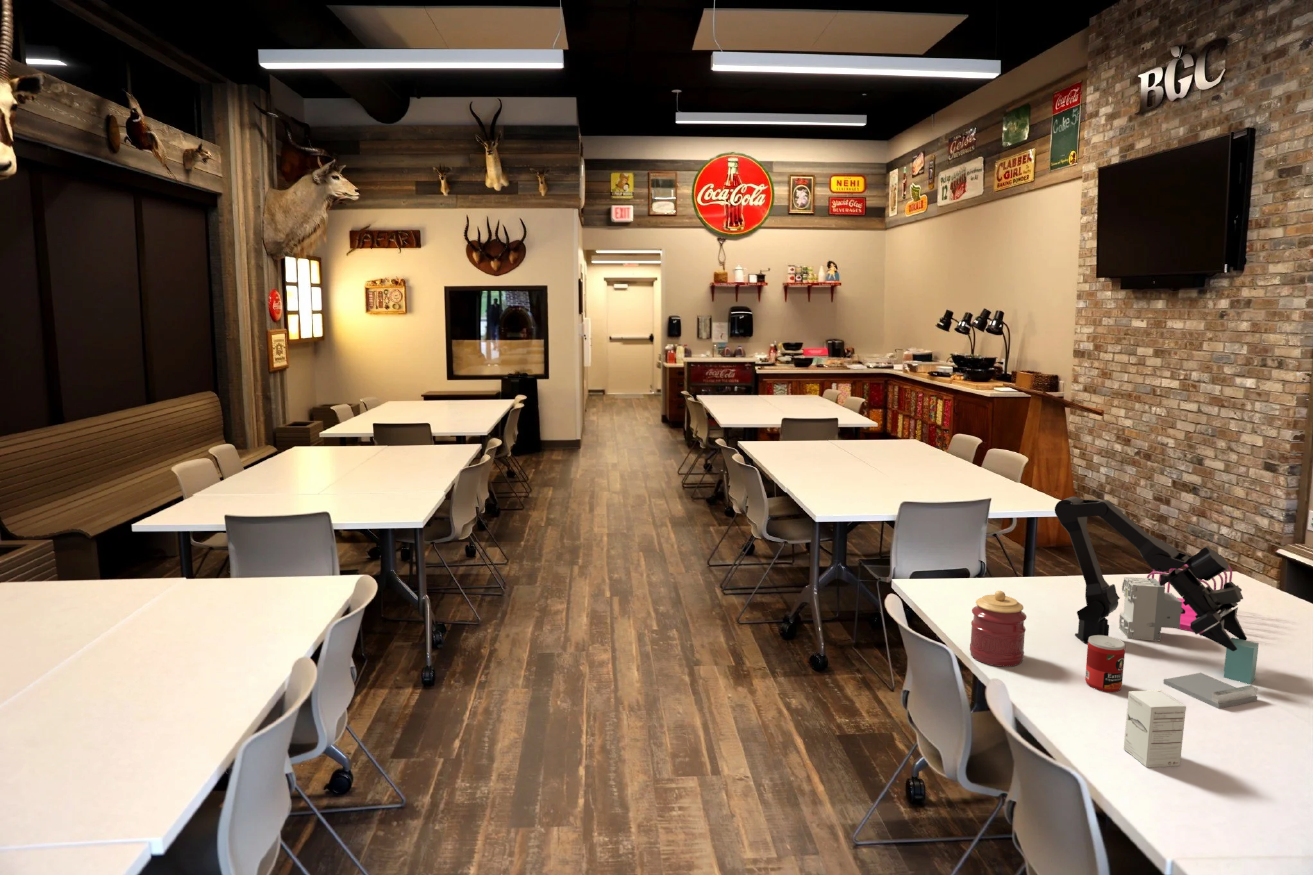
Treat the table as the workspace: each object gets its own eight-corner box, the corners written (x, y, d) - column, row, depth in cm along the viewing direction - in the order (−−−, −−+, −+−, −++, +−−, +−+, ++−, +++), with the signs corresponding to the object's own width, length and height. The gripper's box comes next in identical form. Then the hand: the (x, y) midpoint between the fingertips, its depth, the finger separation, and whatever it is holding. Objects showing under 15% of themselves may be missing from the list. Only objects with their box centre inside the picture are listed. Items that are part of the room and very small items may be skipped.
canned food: (1108, 695, 200) (1111, 649, 198) (1077, 682, 207) (1080, 638, 205) (1129, 688, 203) (1133, 643, 202) (1098, 676, 210) (1101, 632, 209)
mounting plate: (1163, 683, 206) (1164, 671, 206) (1200, 676, 210) (1201, 664, 210) (1218, 708, 193) (1219, 695, 193) (1256, 700, 197) (1258, 688, 197)
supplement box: (1122, 749, 175) (1127, 690, 173) (1156, 747, 176) (1162, 688, 174) (1145, 768, 168) (1151, 706, 166) (1181, 766, 168) (1187, 705, 167)
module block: (1223, 677, 210) (1227, 641, 209) (1228, 672, 213) (1231, 637, 212) (1250, 684, 206) (1254, 648, 205) (1254, 679, 209) (1258, 643, 208)
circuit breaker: (1185, 642, 232) (1190, 588, 230) (1127, 638, 235) (1131, 585, 233) (1174, 632, 239) (1179, 580, 237) (1118, 628, 242) (1122, 576, 240)
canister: (977, 644, 231) (980, 580, 228) (1028, 655, 223) (1033, 589, 221) (963, 659, 220) (966, 592, 218) (1016, 671, 213) (1021, 602, 210)
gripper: (1209, 581, 204) (1261, 638, 197) (1231, 565, 216) (1280, 619, 210) (1169, 605, 210) (1218, 661, 204) (1192, 589, 223) (1239, 641, 217)
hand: (1240, 645), depth 208 cm, fingers open, 9 cm apart
